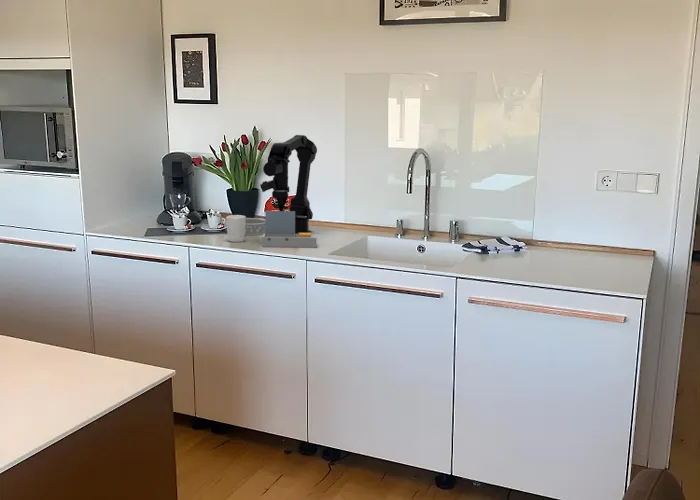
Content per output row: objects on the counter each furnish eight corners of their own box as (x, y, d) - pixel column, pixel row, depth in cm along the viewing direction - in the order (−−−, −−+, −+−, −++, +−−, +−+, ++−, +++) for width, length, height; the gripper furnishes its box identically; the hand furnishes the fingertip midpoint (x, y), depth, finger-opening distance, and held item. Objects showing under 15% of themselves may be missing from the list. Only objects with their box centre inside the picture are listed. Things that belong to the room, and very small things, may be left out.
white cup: (247, 239, 303) (247, 215, 301) (243, 242, 295) (243, 218, 293) (229, 238, 303) (229, 214, 301) (224, 241, 296) (224, 217, 294)
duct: (263, 243, 295) (263, 233, 294) (316, 243, 296) (316, 234, 295) (262, 247, 287) (262, 237, 286) (316, 247, 288) (316, 237, 287)
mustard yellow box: (298, 240, 302) (299, 232, 301) (310, 241, 302) (310, 232, 301) (298, 242, 298) (298, 234, 297) (310, 242, 298) (310, 234, 298)
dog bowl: (259, 227, 330) (259, 216, 329) (276, 234, 315) (276, 222, 314) (223, 230, 322) (223, 218, 321) (239, 237, 306) (239, 225, 305)
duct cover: (265, 233, 293) (265, 233, 294) (294, 234, 294) (295, 233, 294) (265, 211, 291) (265, 210, 292) (295, 211, 292) (295, 211, 292)
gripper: (263, 171, 305) (263, 208, 308) (259, 176, 287) (259, 215, 290) (289, 172, 305) (289, 208, 309) (287, 176, 287) (287, 215, 290)
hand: (280, 211), depth 299 cm, fingers closed
